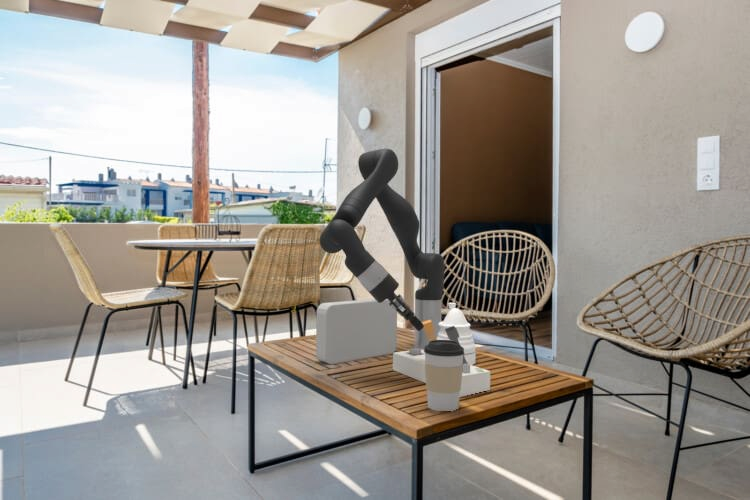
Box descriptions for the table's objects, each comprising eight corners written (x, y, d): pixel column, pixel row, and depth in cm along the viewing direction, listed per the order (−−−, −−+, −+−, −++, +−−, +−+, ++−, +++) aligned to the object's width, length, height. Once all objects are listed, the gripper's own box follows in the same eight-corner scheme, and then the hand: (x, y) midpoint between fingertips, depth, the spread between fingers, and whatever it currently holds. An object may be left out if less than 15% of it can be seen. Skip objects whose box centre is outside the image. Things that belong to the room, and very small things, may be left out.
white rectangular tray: (420, 365, 151) (420, 342, 151) (489, 390, 126) (490, 363, 126) (392, 369, 145) (393, 345, 145) (459, 397, 121) (460, 368, 121)
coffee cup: (419, 400, 118) (420, 337, 117) (457, 400, 119) (458, 336, 118) (427, 414, 109) (428, 345, 108) (468, 413, 110) (469, 344, 109)
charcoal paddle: (468, 365, 129) (453, 325, 128) (472, 369, 125) (456, 328, 125) (460, 368, 129) (444, 329, 128) (463, 372, 125) (447, 331, 125)
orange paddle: (442, 357, 138) (429, 319, 137) (444, 360, 134) (431, 321, 134) (434, 360, 137) (421, 322, 137) (436, 363, 134) (423, 324, 134)
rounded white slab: (382, 349, 174) (382, 297, 173) (396, 353, 168) (397, 299, 167) (311, 360, 155) (312, 302, 155) (325, 365, 150) (326, 305, 149)
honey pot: (426, 358, 160) (427, 302, 160) (458, 355, 166) (459, 300, 165) (449, 368, 148) (450, 307, 148) (484, 363, 154) (485, 305, 154)
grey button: (416, 357, 147) (416, 347, 147) (423, 360, 144) (423, 349, 144) (406, 359, 145) (406, 348, 145) (413, 361, 142) (413, 351, 142)
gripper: (389, 273, 128) (434, 322, 129) (386, 270, 142) (428, 315, 142) (367, 293, 128) (413, 342, 129) (367, 288, 142) (409, 333, 142)
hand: (421, 328), depth 135 cm, fingers closed
